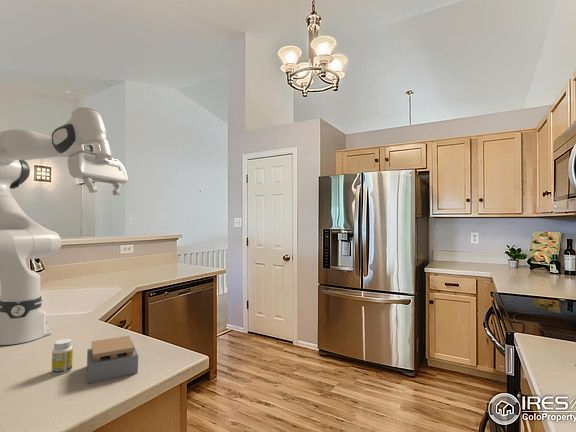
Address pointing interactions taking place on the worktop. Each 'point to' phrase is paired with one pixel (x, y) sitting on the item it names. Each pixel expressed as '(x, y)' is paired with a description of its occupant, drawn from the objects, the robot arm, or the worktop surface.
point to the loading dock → (111, 359)
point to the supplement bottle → (62, 356)
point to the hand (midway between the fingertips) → (105, 193)
